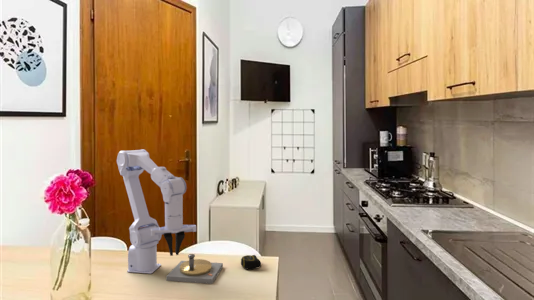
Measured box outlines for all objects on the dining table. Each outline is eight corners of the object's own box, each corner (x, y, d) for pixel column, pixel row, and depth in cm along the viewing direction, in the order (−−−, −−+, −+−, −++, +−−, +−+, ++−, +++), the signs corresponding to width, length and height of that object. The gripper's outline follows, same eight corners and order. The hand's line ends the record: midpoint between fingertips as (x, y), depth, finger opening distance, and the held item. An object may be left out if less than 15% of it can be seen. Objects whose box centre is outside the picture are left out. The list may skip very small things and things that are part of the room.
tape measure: (261, 270, 132) (261, 260, 132) (243, 272, 130) (243, 262, 129) (256, 263, 138) (256, 253, 138) (239, 265, 136) (239, 255, 136)
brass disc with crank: (186, 262, 134) (186, 244, 133) (215, 264, 132) (215, 246, 132) (174, 274, 123) (174, 255, 122) (206, 277, 121) (206, 257, 121)
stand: (166, 280, 122) (166, 275, 122) (181, 264, 136) (181, 260, 136) (212, 283, 120) (212, 279, 120) (222, 267, 134) (222, 262, 133)
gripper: (152, 219, 113) (152, 261, 114) (198, 215, 118) (198, 255, 119) (150, 214, 119) (150, 254, 120) (193, 210, 125) (194, 248, 126)
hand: (174, 254), depth 120 cm, fingers closed
